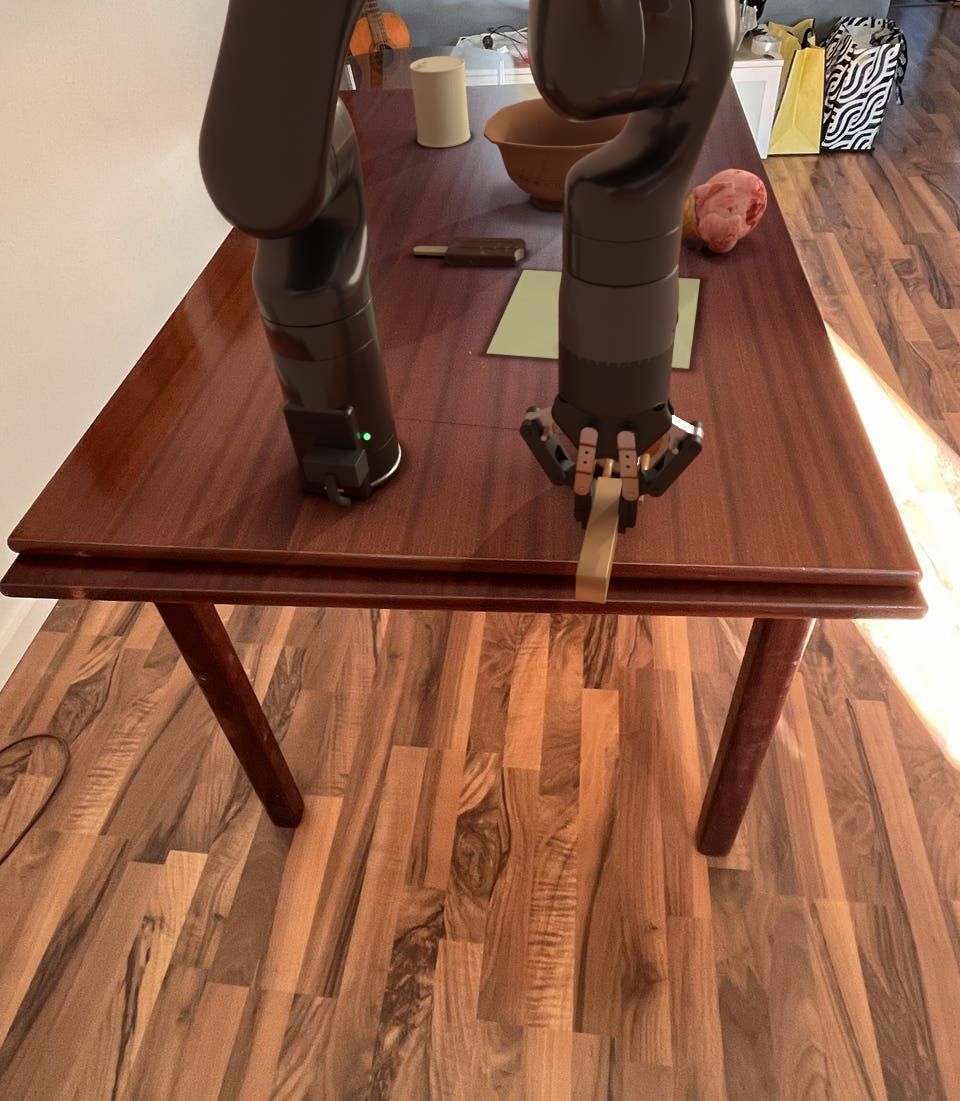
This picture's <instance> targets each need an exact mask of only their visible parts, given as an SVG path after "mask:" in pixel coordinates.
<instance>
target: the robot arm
mask: <svg viewBox="0 0 960 1101" xmlns="http://www.w3.org/2000/svg"><path fill="white" fill-rule="evenodd" d="M367 1H368V0H228V6H227V12H226V16H225V21H224V27H223V31H222V35H221V36H222V37H221V41H220V44H219V48H218V49H219V50H218V53H217V59H216V62H215V66H214V67H215V68H214V72H213V75H212V81H211V84H210V88H209V91H208V97H207V99H206V103H205V104H206V105H205V110H204V113H203V117H202V122H201V126H200V132H199V138H198V148H197V149H198V164H199V169H200V175H201V178H202V182H203V184H204V188H205V190H206V192H207V194H208V197H209V199H210V200H211V202H212V204H213V205H214V207H215V209H216V210H217V211H218V212H219V214H220V215H221V216H222V217H223V220H225V221H226V222H227V223H229V225H231V226H232V227H233V228H234V229H235V230H237V231H239V232H240V233H242V234H244V235H245V236H248V237H250V238H253V239H256V250H255V256H254V262H253V267H252V272H251V285H252V290H253V293H254V298H255V301H256V305H257V309H258V312H259V314H260V319H261V323H262V325H263V329H264V332H265V336H266V340H267V344H268V347H269V350H270V351H269V352H270V355H271V358H272V361H273V365H274V369H275V373H276V376H277V380H278V383H279V386H280V390H281V394H282V397H283V400H284V404H283V406H282V414H283V416H284V420H285V423H286V427H287V431H288V434H289V437H290V441H291V444H292V448H293V451H294V455H295V459H296V462H297V465H298V469H299V472H300V475H301V480H302V483H303V487H304V489H305V492H309V493H315V494H324V495H327V497H328V500H329V501H330V503H331V504H332V505H334V506H336V507H340V508H343V509H346V508H349V507H350V506H351V504H352V502H351V499H350V498H358V499H367V498H369V496H370V494H371V493H372V492H373V491H374V490H377V489H378V488H380V487H382V486H384V485H385V484H387V483H389V482H390V481H391V480H392V479H393V478H394V477H395V476H396V475H397V473H398V472H399V471H400V468H401V465H402V461H403V455H402V450H401V446H400V444H399V440H398V433H397V428H396V422H395V416H394V410H393V405H392V398H391V394H390V393H391V392H390V387H389V382H388V375H387V370H386V364H385V357H384V353H383V352H384V351H383V346H382V341H381V334H380V330H379V329H380V328H379V322H378V316H377V310H376V305H375V298H374V294H373V293H374V292H373V288H372V282H371V281H372V280H371V273H370V272H371V271H370V266H371V256H372V236H371V235H372V234H371V225H370V219H369V209H368V203H367V196H366V195H367V193H366V188H365V181H364V179H365V178H364V172H363V166H362V158H361V153H360V148H359V143H358V138H357V134H356V130H355V127H354V124H353V120H352V118H351V115H350V113H349V111H348V109H347V107H346V105H345V103H344V101H343V99H342V98H341V96H340V91H341V84H342V79H343V75H344V69H345V65H346V62H347V56H348V53H349V49H350V46H351V43H352V40H353V37H354V34H355V30H356V28H357V26H358V22H359V20H360V18H361V15H362V12H363V10H364V8H365V5H366V3H367ZM740 3H741V2H740V0H528V10H527V25H526V27H527V29H526V32H527V33H526V45H527V47H526V48H527V57H528V58H527V59H528V64H529V68H530V69H529V70H530V73H531V76H532V78H533V83H534V84H535V87H536V90H537V91H538V94H539V95H540V96H541V98H543V99H544V101H545V102H546V104H547V105H548V106H549V107H550V108H551V109H552V111H553V112H554V113H555V114H557V115H558V116H560V117H561V118H563V119H565V120H567V121H570V122H576V123H579V122H590V121H596V120H601V119H605V118H610V117H614V116H618V115H623V114H628V113H630V115H629V117H628V120H627V122H626V124H625V126H624V128H623V130H622V131H621V132H620V134H619V135H618V136H616V137H615V138H614V139H613V140H612V141H610V142H609V143H608V144H606V145H604V146H603V147H601V148H599V149H598V150H596V151H594V152H592V153H590V154H588V155H587V156H585V157H583V158H582V159H580V160H579V161H578V162H576V163H575V164H574V165H573V166H572V167H571V169H570V170H569V171H568V173H567V175H566V179H565V182H564V188H563V211H562V220H561V221H562V228H561V229H562V230H561V232H562V233H561V235H562V237H561V239H562V240H561V242H562V243H561V245H562V248H561V249H562V250H561V251H562V253H561V258H562V259H561V261H562V262H561V263H562V264H561V272H562V274H561V281H560V288H559V300H558V359H557V362H558V365H557V366H558V372H557V373H558V376H557V377H558V380H557V382H558V383H557V386H558V388H557V390H558V391H557V394H556V396H554V400H553V404H552V405H550V406H547V407H544V408H542V409H541V408H540V407H538V406H535V405H531V406H528V408H527V409H526V410H525V412H524V413H525V414H524V416H523V419H522V421H521V424H520V427H519V430H518V431H519V435H520V436H521V438H522V439H523V441H524V442H525V444H526V445H527V447H528V448H529V450H530V452H531V453H532V455H533V457H534V458H535V459H536V461H537V462H538V465H539V466H540V468H541V469H542V471H543V472H544V473H545V475H546V478H548V479H549V482H550V483H551V484H552V485H553V486H556V487H563V486H564V485H565V486H567V487H569V488H571V490H573V494H574V495H573V496H574V498H573V499H574V500H573V501H574V502H573V506H574V507H573V517H574V519H575V521H576V522H579V523H581V529H583V530H586V528H587V524H588V519H589V515H590V511H591V509H592V505H593V500H594V496H595V492H596V480H597V477H596V478H595V477H594V473H595V468H596V465H595V463H596V459H605V458H609V459H612V460H615V461H618V462H619V466H620V474H619V479H620V478H621V480H622V487H621V492H620V497H619V505H618V514H619V522H618V534H622V535H623V534H624V535H627V529H634V527H635V526H636V524H637V520H638V514H639V506H638V505H639V497H641V496H642V495H644V496H646V495H649V497H652V498H659V497H661V496H663V495H664V494H665V493H666V492H667V491H668V489H669V488H670V487H671V486H672V485H673V484H674V482H675V481H676V480H678V478H679V477H680V476H681V475H682V474H683V472H684V471H686V469H687V468H688V467H689V466H690V465H691V464H692V463H693V462H694V461H695V459H696V458H697V457H698V456H699V455H700V454H701V453H702V451H703V444H704V437H705V425H704V423H702V422H701V421H699V420H694V421H693V420H692V421H690V422H689V423H688V422H686V421H685V420H682V419H681V418H679V417H677V416H675V409H674V407H673V404H672V403H671V399H670V396H669V394H670V386H671V385H670V384H671V376H672V369H673V368H672V359H673V350H674V340H675V332H676V325H677V323H678V319H679V311H678V305H679V278H680V277H679V268H680V257H681V256H680V255H681V247H682V238H683V235H682V229H683V219H684V209H685V201H686V199H687V194H688V191H689V188H690V186H691V183H692V180H693V177H694V175H695V172H696V170H697V168H698V166H699V162H700V161H701V157H702V155H703V152H704V148H705V147H706V146H705V145H706V143H707V140H708V138H709V135H710V132H711V129H712V127H713V124H714V121H715V119H716V116H717V113H718V111H719V108H720V105H721V103H722V100H723V97H724V94H725V92H726V89H727V86H728V84H729V80H730V77H731V74H732V71H733V68H734V65H735V60H736V56H737V51H738V50H737V49H738V46H739V40H740V28H741V4H740ZM557 426H558V428H559V429H560V431H561V432H562V433H563V434H564V435H565V436H566V439H568V440H569V442H570V443H571V444H572V445H573V447H574V448H575V449H576V450H577V451H578V452H577V457H576V462H575V461H572V458H571V456H570V455H569V453H568V451H567V450H566V448H565V447H564V445H563V443H562V442H561V440H560V439H559V437H558V435H557V434H556V428H557ZM666 433H668V435H669V439H668V449H667V450H666V451H665V452H664V453H663V454H662V456H661V457H660V458H659V459H658V460H657V461H656V463H655V464H654V465H653V466H652V467H651V469H648V470H643V471H642V454H643V453H644V452H646V451H647V450H648V449H649V448H650V447H651V446H652V445H653V444H654V443H656V442H657V441H658V440H659V439H660V438H661V437H662V436H663V435H664V434H666ZM349 497H350V498H349Z"/></svg>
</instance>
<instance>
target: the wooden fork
mask: <svg viewBox="0 0 960 1101" xmlns="http://www.w3.org/2000/svg"><path fill="white" fill-rule="evenodd" d="M596 460H597V459H596ZM649 462H650V456H649V455H648V454H644V455H643V456H642V471H643V470H648V468H649ZM613 464H614V460H612V459H609V458H606V462H605V466H604V469H603V471H602V474H601V476H598V477H597V479H596V492H595V496H594V500H593V505H592V509H591V511H590V515H589V519H588V524H587V528H586V529H585V533H584V537H583V542H582V546H581V550H580V554H579V558H578V563H577V567H576V571H575V596H574V597H575V600H576V601H583V602H589V603H596V604H606V601H607V595H608V590H609V584H610V579H611V574H612V569H613V563H614V559H615V553H616V549H617V548H616V547H617V542H618V537H619V533H618V522H619V514H618V505H619V497H620V492H621V487H622V480H621V478H620V477H619V478H617V477H616V478H615V477H612V473H613V472H612V468H613ZM596 465H597V464H596V463H595V466H596ZM644 498H645V495H642V496H641V497H639V505H638V507H641V508H642V507H643V505H644Z"/></svg>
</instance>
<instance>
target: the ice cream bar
mask: <svg viewBox="0 0 960 1101" xmlns="http://www.w3.org/2000/svg"><path fill="white" fill-rule="evenodd" d="M413 254H414V255H416V256H417V255H418V256H442V257H443V259H444V264H445V266H458V267H459V266H460V267H462V266H463V267H494V268H495V267H496V268H515V267H516V266H517V261H519V260H521V259H522V260H524V259H526V256H527V242H526V241H525V240H524V239H523V238H519V237H517V238H515V237H514V238H513V237H478V236H477V237H476V236H474V237H472V236H454V237H453V238H452V239H451V241H450V244H449V246H443V245H441V246H439V245H436V246H435V245H418V246H415V247H414V248H413Z"/></svg>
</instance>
